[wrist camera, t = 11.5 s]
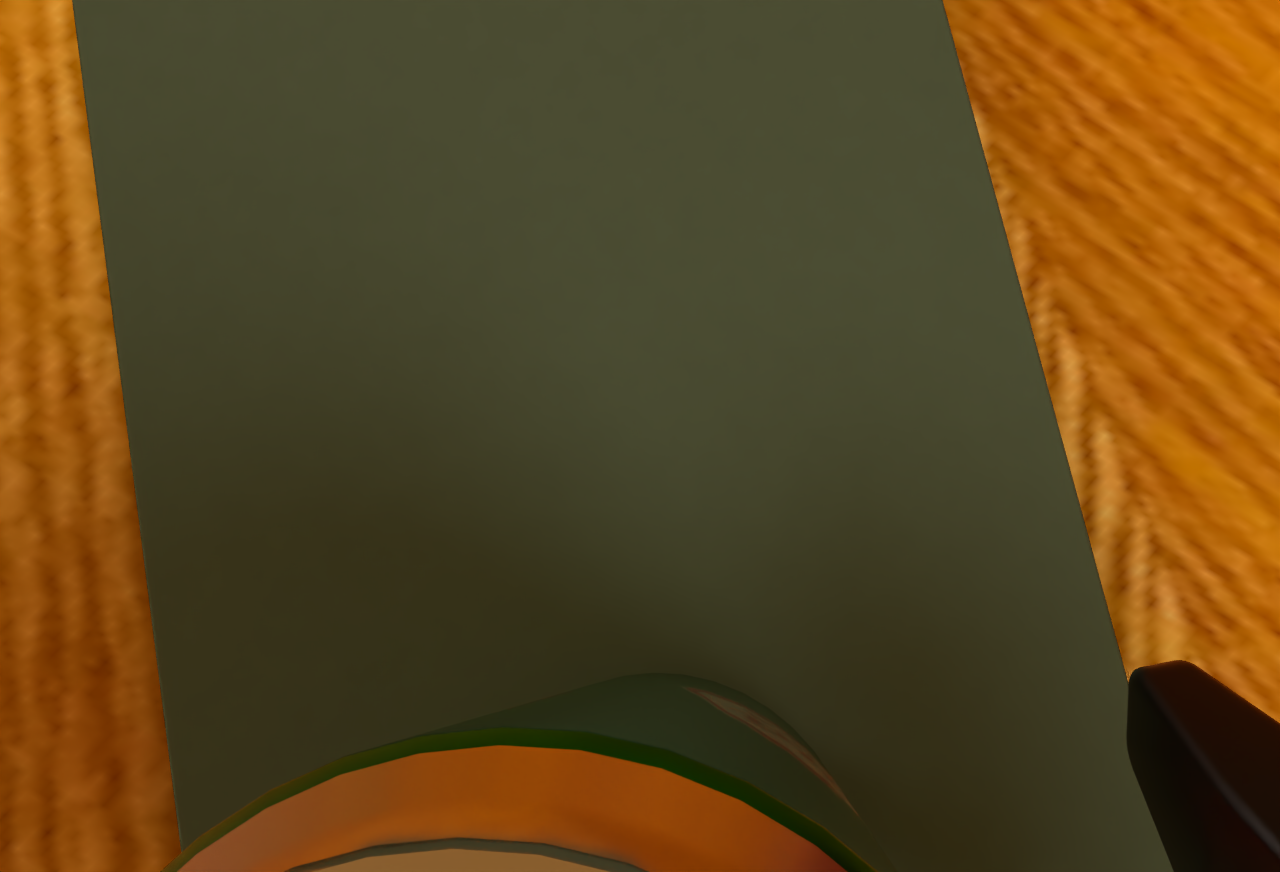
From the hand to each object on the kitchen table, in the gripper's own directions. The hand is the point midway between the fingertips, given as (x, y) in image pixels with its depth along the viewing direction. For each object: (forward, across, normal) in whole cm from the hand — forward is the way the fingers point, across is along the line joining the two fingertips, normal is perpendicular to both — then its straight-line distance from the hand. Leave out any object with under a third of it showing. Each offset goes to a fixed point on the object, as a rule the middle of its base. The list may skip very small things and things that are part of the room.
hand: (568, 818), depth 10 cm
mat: (+7, 0, +4) cm, 8 cm away
